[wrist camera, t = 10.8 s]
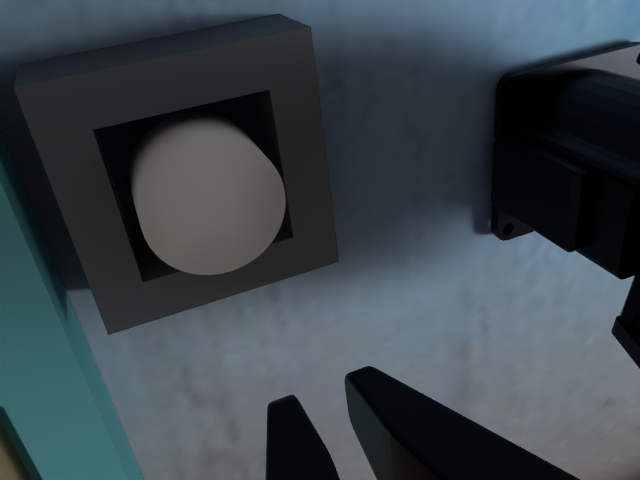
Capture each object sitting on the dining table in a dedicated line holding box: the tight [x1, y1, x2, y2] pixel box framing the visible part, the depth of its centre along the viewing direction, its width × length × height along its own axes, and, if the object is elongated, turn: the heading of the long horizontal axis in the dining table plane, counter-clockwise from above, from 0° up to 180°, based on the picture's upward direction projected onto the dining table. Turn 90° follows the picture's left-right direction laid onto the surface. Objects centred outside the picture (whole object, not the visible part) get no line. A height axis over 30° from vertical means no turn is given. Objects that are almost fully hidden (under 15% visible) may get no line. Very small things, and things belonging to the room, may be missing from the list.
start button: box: [129, 112, 286, 275], centre depth 16 cm, size 4×4×2 cm
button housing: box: [13, 14, 339, 335], centre depth 17 cm, size 7×7×2 cm
